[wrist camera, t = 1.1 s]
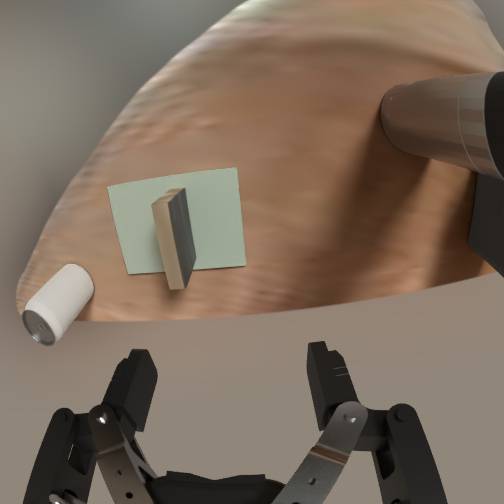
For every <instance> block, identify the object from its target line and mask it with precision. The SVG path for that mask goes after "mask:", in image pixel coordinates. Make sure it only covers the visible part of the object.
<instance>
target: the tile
mask: <svg viewBox="0 0 504 504" xmlns="http://www.w3.org/2000/svg"><path fill="white" fill-rule="evenodd" d="M151 208H152V213H153V218H154V223H155V228H156V233H157V238H158V242H159V247H160V251H161V256H162V260H163V264H164V269H165V273H166V277H167V281H168V285H169V288H170V290H173V289H185V287H187V284H188V281H189V278H190V275H191V273H192V270H193V267H194V264H195V261H196V259H197V258H196V252H195V246H194V240H193V235H192V229H191V222H190V216H189V210H188V203H187V196H186V189H185V188H184V187H181V188H173V189H170V190H168V191H167V192H166V193H165V194H163V195H162V196H161V197H160V198H158V199H157V200H156V201H155V202H154V203H152V204H151Z"/></svg>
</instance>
